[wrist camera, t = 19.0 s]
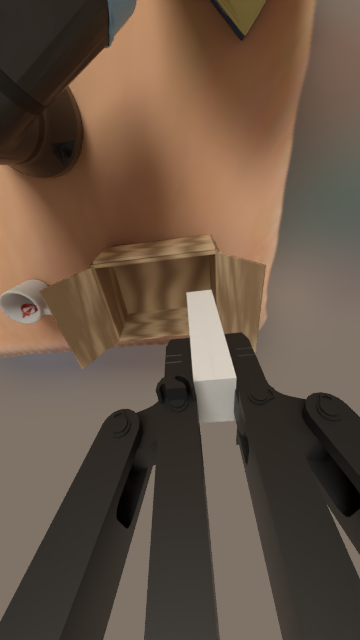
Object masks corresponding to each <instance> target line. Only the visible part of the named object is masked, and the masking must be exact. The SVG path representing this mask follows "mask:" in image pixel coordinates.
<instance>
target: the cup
mask: <svg viewBox="0 0 360 640" xmlns="http://www.w3.org/2000/svg"><path fill="white" fill-rule="evenodd" d="M47 287H49V286H48V285H47V284H46V283H44V282H42V281H40V280H35V279H31V280H27V281H25V282H23V283H21V284H19V285H17V286H15V287H13V288H12V289H10V290H8V291H6V292H4V293H3V294H2V295H1V296H0V307H1V309H2V311H3V312H4V313H5V314H6V315H7V316H8V317H9V318H11V319H12V320H14V321H16V322H19V323H23V324H32V323H35V322H37V321H39V320H40V318H41V317H42V316H43V315H51V316H52V314H51V312H50V310H49V309H48V307H47V305H46V303H45V301H44V300H43V298H42V296H41V294H40V292H39V291H40V290H42V289H44V288H47Z"/></svg>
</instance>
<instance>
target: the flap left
mask: <svg viewBox="0 0 360 640" xmlns="http://www.w3.org/2000/svg"><path fill="white" fill-rule="evenodd" d="M39 292H40V294H41V296H42V298H43V300H44V301H45V303H46V305H47V307H48V309H49V310H50V312H51V314H52V316H53V318H54V319H55V321H56V323H57V325H58V327H59V328H60V330H61V332H62V334H63V336H64V337H65V339H66V341H67V343H68V345H69V346H70V348H71V350H72V352H73V354H74V355H75V357H76V359H77V361H78V363H79V365H80V366H81V368H82V369H84V368H85V367H86V366H87V365H89V364H90V363H91V362H92V361H94V360H95V359H96V358H97V357H99V356H100V355H101V354H102V353H104V352H105V351H106V350H107V349H109V348H110V347H111V346H112V345H114V344H115V343H116V342H117V338H116V335H115V333H114V330H113V327H112V325H111V322H110V319H109V317H108V314H107V311H106V309H105V306H104V303H103V301H102V298H101V295H100V293H99V290H98V287H97V285H96V282H95V279H94V277H93V274H92V271H91V269H90V268H88V269H86V270H83V271H81V272H79V273H77V274H75V275H73V276H70V277H68V278H66V279H64V280H62V281H60V282H57V283H55V284H53V285H51V286H49V287H47V288H44V289H42V290H40V291H39Z"/></svg>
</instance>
